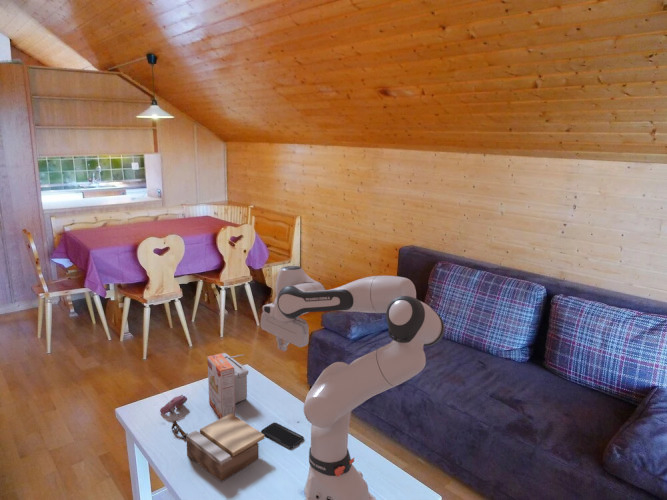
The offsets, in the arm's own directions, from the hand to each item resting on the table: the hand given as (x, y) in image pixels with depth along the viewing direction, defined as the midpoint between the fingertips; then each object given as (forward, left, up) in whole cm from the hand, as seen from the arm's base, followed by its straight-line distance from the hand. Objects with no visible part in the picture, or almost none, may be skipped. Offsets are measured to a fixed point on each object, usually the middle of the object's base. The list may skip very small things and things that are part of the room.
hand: (282, 349), depth 167 cm
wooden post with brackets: (+27, +25, -34) cm, 50 cm away
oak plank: (+5, +18, -27) cm, 33 cm away
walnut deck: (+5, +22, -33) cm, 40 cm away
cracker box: (+28, +5, -34) cm, 44 cm away
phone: (-1, 0, -34) cm, 34 cm away
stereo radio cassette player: (+37, -5, -34) cm, 50 cm away
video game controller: (+41, +18, -34) cm, 56 cm away
